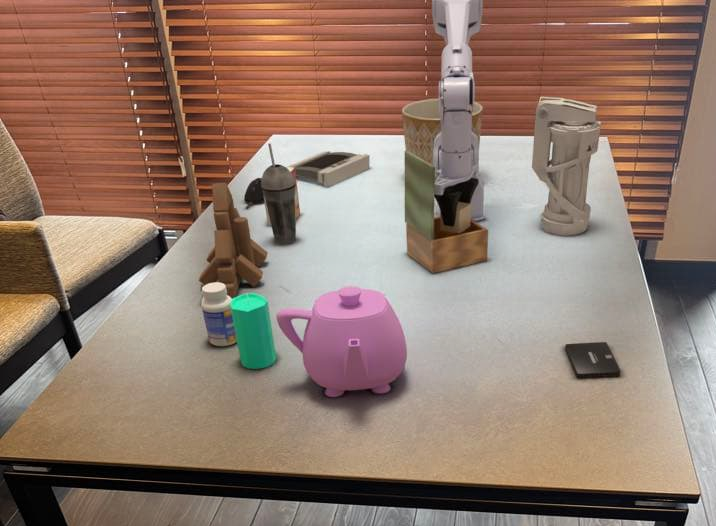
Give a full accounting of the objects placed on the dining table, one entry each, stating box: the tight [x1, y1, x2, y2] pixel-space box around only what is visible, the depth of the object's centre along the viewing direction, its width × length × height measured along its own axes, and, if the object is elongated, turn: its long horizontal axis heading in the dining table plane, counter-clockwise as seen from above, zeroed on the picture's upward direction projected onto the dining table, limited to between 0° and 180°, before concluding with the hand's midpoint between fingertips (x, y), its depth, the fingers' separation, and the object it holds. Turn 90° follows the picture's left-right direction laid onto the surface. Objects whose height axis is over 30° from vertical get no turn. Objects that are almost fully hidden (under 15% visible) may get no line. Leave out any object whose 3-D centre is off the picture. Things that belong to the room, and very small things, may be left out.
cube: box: [439, 202, 471, 234], centre depth 159 cm, size 4×4×4 cm
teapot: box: [275, 285, 408, 398], centre depth 122 cm, size 20×20×15 cm
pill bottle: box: [200, 281, 237, 347], centre depth 136 cm, size 5×5×10 cm
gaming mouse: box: [244, 177, 265, 210], centre depth 193 cm, size 6×15×4 cm, turn 165°
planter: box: [401, 97, 484, 181], centre depth 194 cm, size 19×19×16 cm
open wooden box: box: [405, 216, 489, 274], centre depth 161 cm, size 13×12×6 cm
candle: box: [230, 292, 277, 370], centre depth 130 cm, size 6×6×12 cm
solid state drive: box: [564, 341, 621, 379], centre depth 129 cm, size 7×10×1 cm
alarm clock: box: [287, 151, 370, 188], centre depth 206 cm, size 17×5×16 cm
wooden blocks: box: [198, 182, 268, 302], centre depth 154 cm, size 25×12×18 cm, turn 2°
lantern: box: [531, 96, 602, 236], centre depth 165 cm, size 13×10×25 cm
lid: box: [404, 150, 435, 240], centre depth 153 cm, size 13×12×1 cm
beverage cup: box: [261, 143, 297, 246], centre depth 166 cm, size 7×7×20 cm
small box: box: [260, 166, 301, 226], centre depth 179 cm, size 8×6×10 cm
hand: (455, 221), depth 159 cm, fingers closed on cube, 4 cm apart
